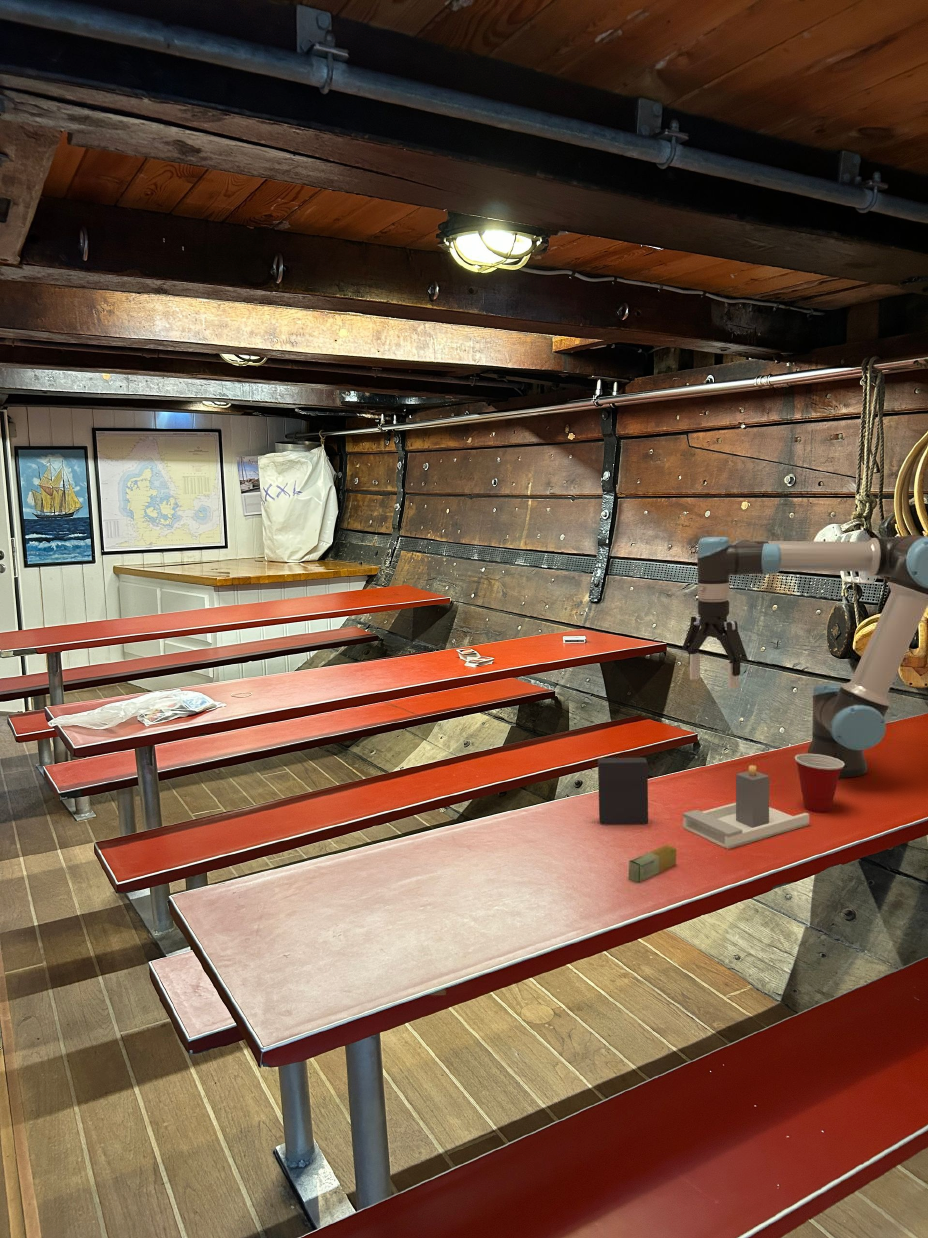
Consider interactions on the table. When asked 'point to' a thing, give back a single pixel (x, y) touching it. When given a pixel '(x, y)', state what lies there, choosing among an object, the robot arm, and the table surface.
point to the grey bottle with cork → (752, 798)
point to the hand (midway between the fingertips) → (713, 683)
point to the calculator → (623, 790)
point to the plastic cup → (818, 780)
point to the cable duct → (738, 825)
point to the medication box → (652, 863)
